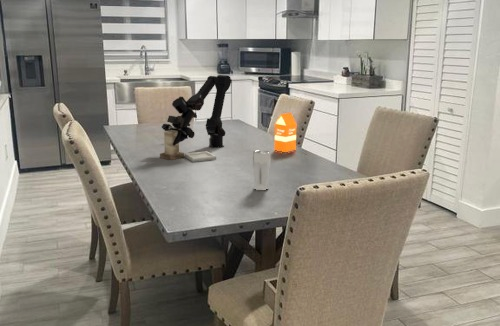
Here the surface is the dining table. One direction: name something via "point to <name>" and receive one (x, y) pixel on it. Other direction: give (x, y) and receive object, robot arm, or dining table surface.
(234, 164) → the dining table surface
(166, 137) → the tan wooden block
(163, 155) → the walnut collar
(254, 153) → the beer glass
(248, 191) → the dining table surface
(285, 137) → the orange juice
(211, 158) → the tray
